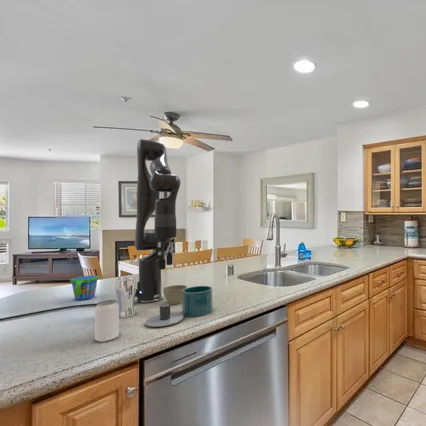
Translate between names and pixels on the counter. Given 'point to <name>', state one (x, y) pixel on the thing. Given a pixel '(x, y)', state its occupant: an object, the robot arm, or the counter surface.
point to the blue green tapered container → (84, 287)
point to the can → (106, 320)
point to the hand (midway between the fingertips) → (165, 267)
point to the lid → (164, 317)
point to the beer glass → (126, 296)
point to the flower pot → (174, 293)
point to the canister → (197, 301)
